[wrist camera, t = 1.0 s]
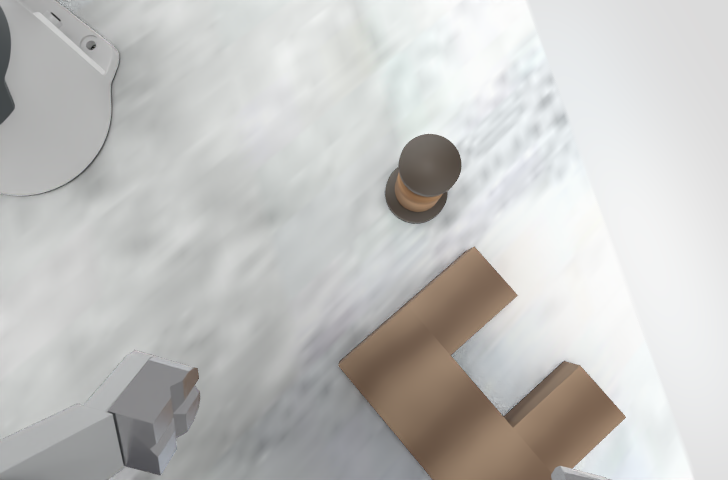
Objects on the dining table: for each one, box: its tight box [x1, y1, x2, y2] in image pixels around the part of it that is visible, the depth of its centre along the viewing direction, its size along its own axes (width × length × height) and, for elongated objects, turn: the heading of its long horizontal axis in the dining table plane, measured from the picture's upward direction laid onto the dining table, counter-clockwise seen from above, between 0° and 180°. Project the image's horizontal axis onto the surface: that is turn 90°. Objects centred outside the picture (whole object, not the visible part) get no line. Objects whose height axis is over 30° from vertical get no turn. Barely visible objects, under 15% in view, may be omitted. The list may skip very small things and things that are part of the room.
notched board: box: [338, 247, 626, 480], centre depth 39 cm, size 17×14×3 cm
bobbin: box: [385, 134, 461, 223], centre depth 38 cm, size 5×5×9 cm
